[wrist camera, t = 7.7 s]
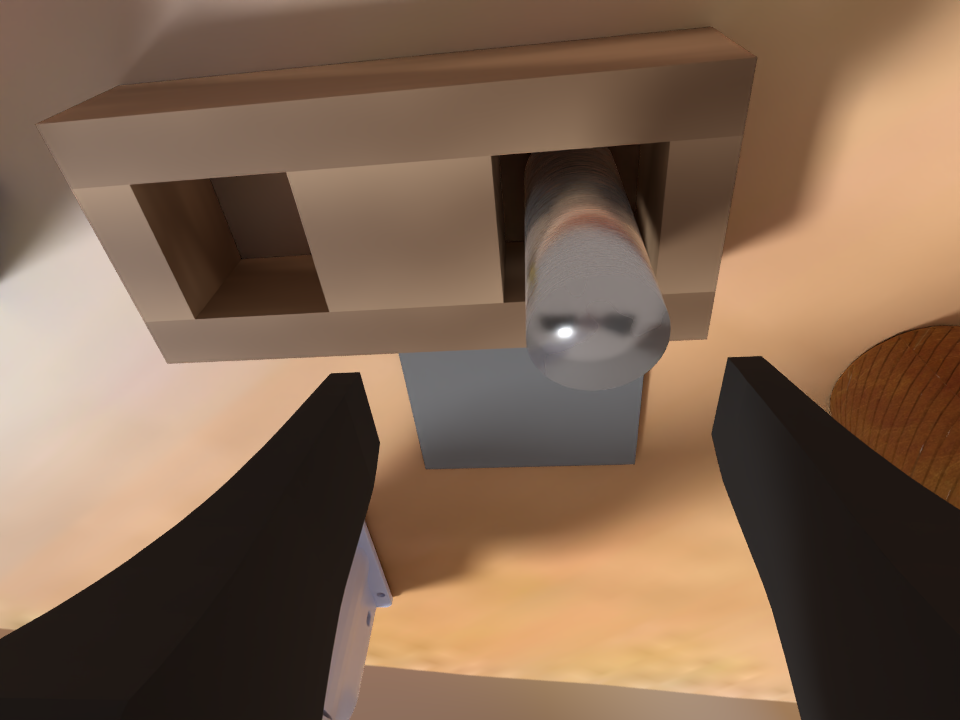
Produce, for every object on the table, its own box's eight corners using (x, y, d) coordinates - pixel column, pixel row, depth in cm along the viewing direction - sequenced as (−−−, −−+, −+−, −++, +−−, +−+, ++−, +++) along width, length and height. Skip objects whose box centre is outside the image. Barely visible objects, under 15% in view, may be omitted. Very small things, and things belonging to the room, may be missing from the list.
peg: (612, 216, 20) (661, 389, 13) (525, 220, 20) (528, 392, 13) (618, 127, 18) (680, 272, 11) (523, 133, 18) (523, 278, 11)
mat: (633, 459, 28) (634, 464, 27) (426, 464, 29) (425, 469, 28) (649, 299, 22) (650, 303, 22) (391, 312, 23) (389, 316, 23)
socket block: (679, 274, 21) (706, 339, 18) (215, 300, 23) (167, 363, 20) (711, 26, 16) (757, 57, 13) (118, 85, 18) (34, 124, 15)
